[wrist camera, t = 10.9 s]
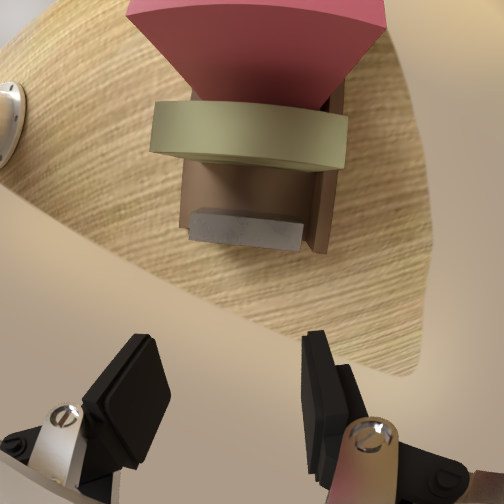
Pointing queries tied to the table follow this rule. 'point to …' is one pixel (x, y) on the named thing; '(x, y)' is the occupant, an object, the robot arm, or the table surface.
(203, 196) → the shelf
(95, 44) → the table surface
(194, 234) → the bookend
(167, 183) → the table surface
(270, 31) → the book
